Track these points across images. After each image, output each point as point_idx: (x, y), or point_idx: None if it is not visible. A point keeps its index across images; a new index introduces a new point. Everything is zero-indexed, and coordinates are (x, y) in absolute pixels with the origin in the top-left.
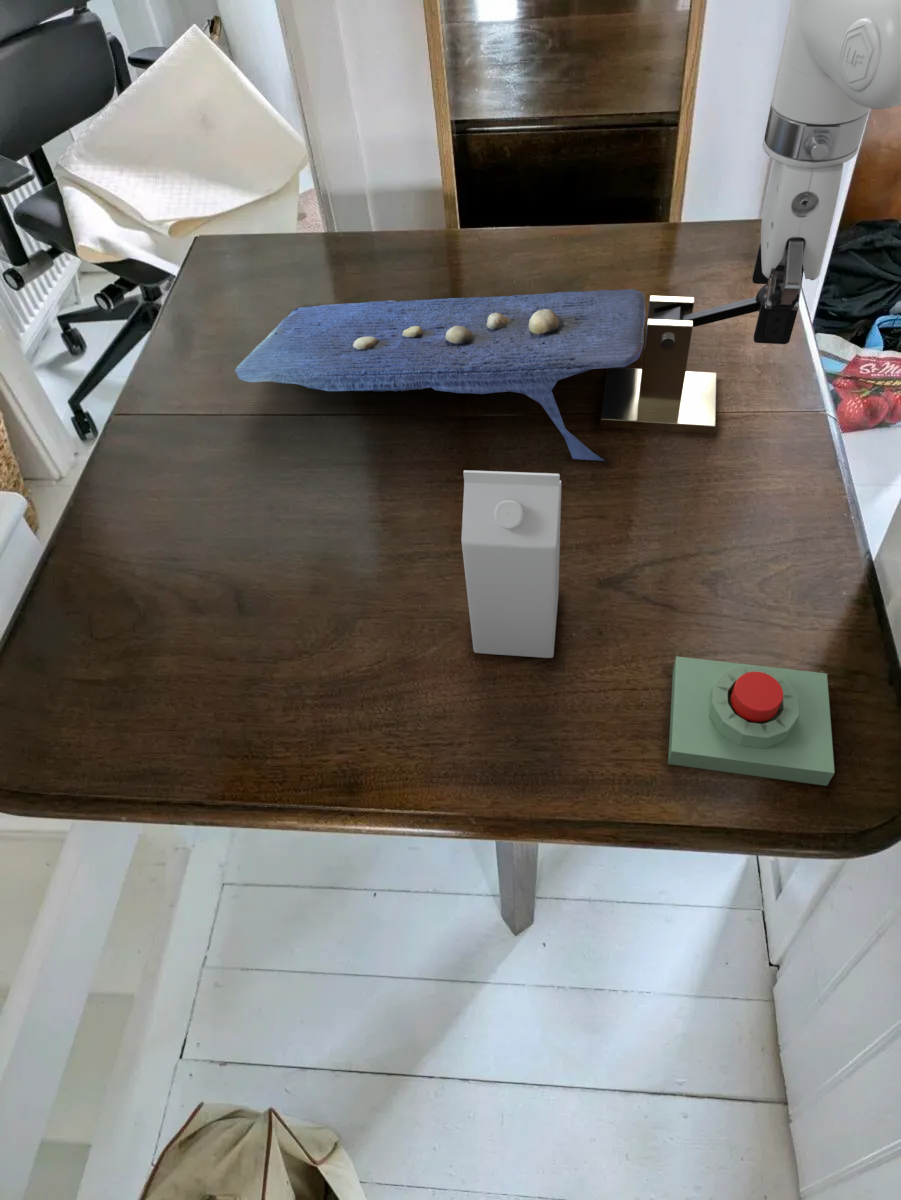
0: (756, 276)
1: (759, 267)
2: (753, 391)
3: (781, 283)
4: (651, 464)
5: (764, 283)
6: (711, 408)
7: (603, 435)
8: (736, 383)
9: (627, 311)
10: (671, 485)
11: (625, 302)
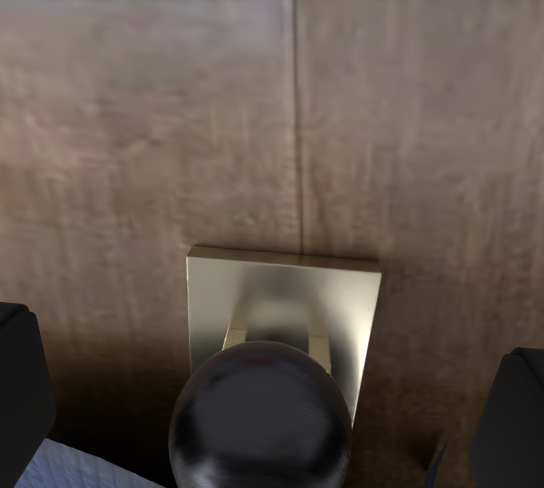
0: (37, 443)
1: (7, 484)
2: (219, 163)
3: (214, 484)
4: (457, 370)
5: (49, 383)
6: (319, 277)
7: (367, 432)
8: (193, 199)
9: (79, 482)
10: (524, 343)
11: (31, 466)
